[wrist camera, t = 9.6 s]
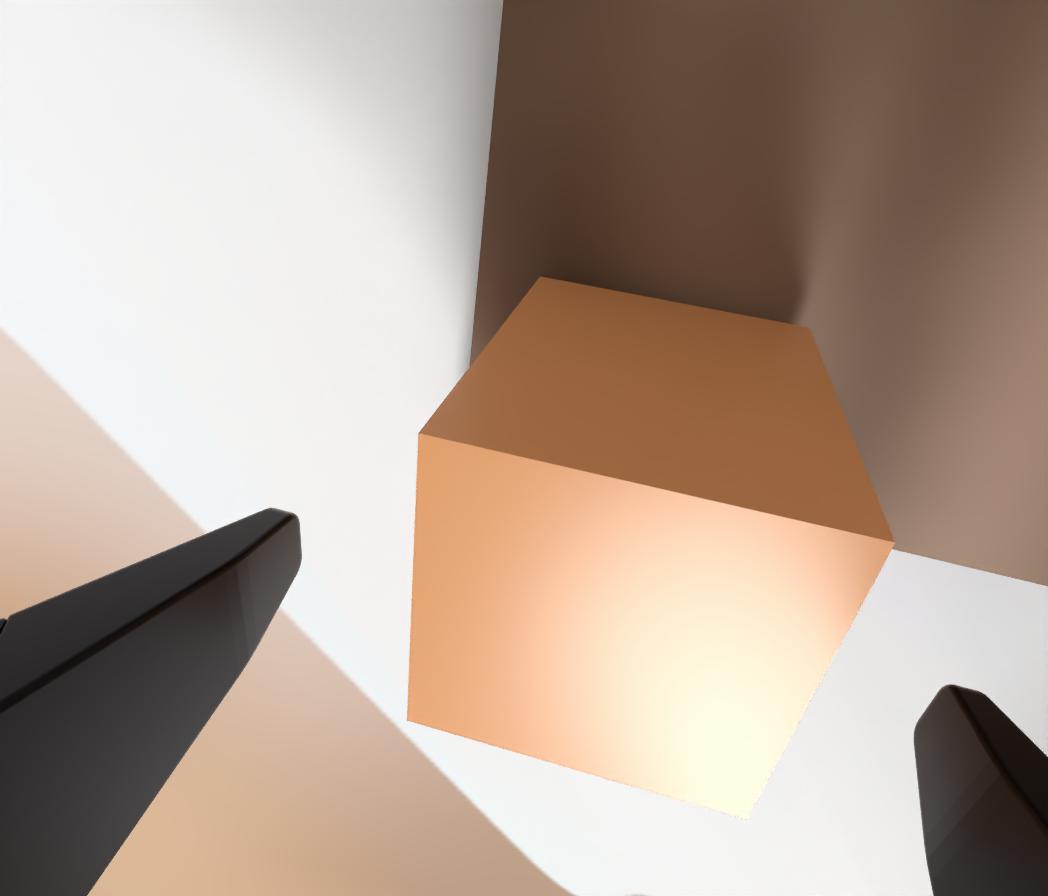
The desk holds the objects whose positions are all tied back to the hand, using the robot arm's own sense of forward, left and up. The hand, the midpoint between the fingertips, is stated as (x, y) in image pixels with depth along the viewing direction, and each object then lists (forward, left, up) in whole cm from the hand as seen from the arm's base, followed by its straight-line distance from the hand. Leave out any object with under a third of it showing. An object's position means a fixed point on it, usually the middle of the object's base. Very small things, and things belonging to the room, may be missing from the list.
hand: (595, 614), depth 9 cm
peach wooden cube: (0, 0, -6) cm, 6 cm away
